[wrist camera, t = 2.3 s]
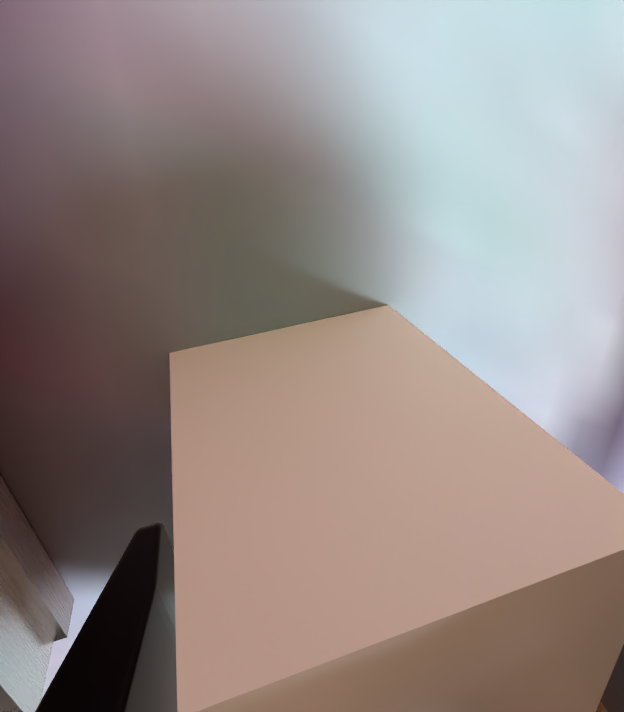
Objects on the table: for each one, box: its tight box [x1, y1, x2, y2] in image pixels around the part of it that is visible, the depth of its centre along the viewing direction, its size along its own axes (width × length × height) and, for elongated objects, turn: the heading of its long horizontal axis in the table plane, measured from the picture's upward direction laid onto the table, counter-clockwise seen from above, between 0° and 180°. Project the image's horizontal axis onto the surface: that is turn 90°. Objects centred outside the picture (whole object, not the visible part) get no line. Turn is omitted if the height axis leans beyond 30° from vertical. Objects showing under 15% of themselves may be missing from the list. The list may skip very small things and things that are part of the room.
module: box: [169, 305, 624, 712], centre depth 7 cm, size 6×4×6 cm, turn 6°
